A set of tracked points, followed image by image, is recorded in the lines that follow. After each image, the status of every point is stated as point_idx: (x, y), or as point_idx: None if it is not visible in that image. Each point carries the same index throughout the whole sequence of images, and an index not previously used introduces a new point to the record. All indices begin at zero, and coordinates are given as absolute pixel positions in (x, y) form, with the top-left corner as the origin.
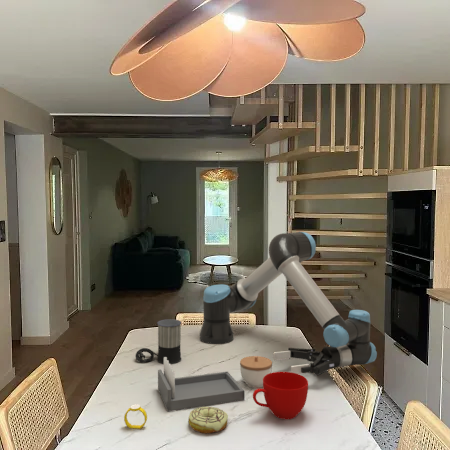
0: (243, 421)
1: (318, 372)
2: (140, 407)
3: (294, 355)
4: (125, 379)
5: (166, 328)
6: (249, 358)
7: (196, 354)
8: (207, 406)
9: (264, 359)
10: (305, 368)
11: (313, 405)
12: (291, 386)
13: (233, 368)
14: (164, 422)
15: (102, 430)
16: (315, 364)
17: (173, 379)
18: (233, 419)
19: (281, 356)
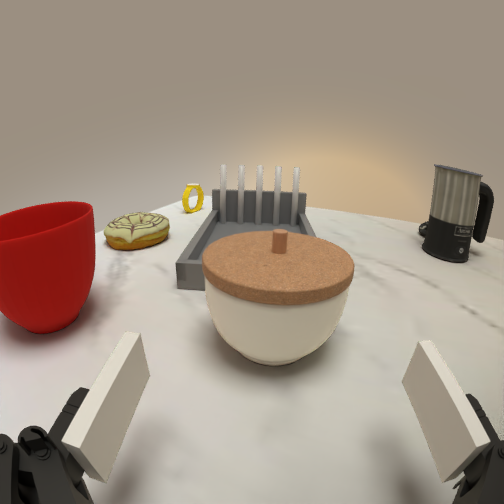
0: (103, 264)
1: (21, 490)
2: (189, 186)
3: (461, 502)
4: (350, 219)
5: (435, 170)
6: (317, 247)
7: (492, 282)
8: (159, 223)
9: (288, 271)
10: (69, 405)
11: (6, 389)
12: (40, 284)
13: (423, 323)
14: (185, 221)
15: (206, 202)
16: (39, 496)
17: (220, 178)
18: (122, 258)
19: (429, 406)
